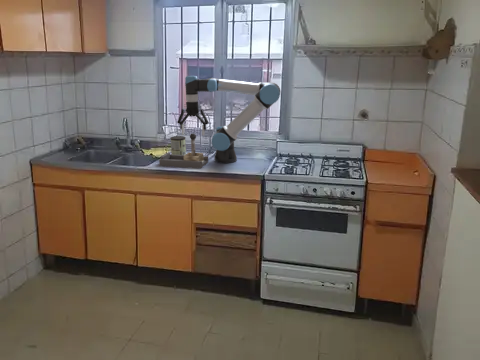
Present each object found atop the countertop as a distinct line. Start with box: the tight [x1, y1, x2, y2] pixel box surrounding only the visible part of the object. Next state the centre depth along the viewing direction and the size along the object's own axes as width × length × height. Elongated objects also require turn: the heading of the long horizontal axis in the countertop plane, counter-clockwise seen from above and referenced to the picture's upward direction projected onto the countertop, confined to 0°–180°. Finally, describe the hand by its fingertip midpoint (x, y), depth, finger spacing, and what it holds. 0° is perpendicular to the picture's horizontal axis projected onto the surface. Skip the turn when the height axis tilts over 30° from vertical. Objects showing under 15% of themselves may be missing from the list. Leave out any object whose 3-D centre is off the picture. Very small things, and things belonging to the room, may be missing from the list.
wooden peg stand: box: [184, 133, 204, 161], centre depth 289 cm, size 10×10×19 cm
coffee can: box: [169, 135, 187, 155], centre depth 309 cm, size 10×10×14 cm
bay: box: [158, 152, 209, 169], centre depth 292 cm, size 28×16×6 cm, turn 78°
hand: (193, 134), depth 286 cm, fingers open, 13 cm apart
